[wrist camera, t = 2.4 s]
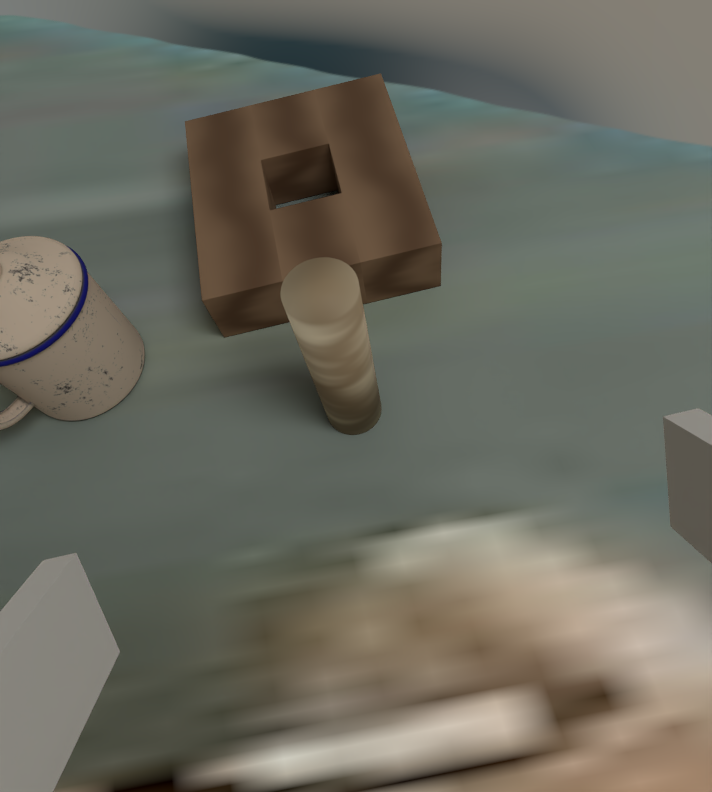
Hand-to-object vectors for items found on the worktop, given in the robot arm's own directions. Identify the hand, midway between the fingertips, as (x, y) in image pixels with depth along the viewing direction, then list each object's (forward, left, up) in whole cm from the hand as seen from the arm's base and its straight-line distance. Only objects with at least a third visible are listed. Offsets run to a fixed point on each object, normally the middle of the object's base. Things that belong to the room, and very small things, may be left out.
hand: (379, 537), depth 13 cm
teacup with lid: (-19, +20, -21) cm, 35 cm away
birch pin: (0, +13, -21) cm, 25 cm away
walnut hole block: (0, +30, -21) cm, 37 cm away
